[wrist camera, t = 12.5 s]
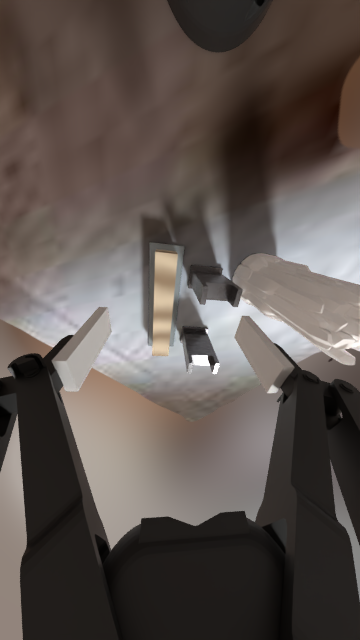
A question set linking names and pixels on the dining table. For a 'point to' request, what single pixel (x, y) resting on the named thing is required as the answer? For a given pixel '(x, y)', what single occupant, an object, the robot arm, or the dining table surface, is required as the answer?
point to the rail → (163, 300)
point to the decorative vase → (304, 302)
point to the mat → (151, 286)
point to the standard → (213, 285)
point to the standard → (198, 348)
